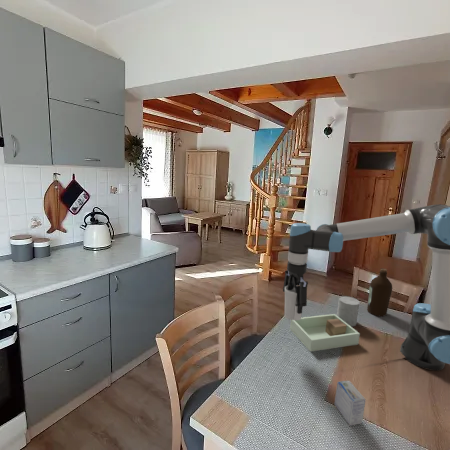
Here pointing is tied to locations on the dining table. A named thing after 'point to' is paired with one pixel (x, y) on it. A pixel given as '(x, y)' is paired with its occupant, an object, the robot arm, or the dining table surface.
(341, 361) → the dining table surface
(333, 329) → the walnut block
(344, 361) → the dining table surface
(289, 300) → the cup
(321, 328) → the tote
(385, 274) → the olive oil
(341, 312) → the white can
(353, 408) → the medicine box
